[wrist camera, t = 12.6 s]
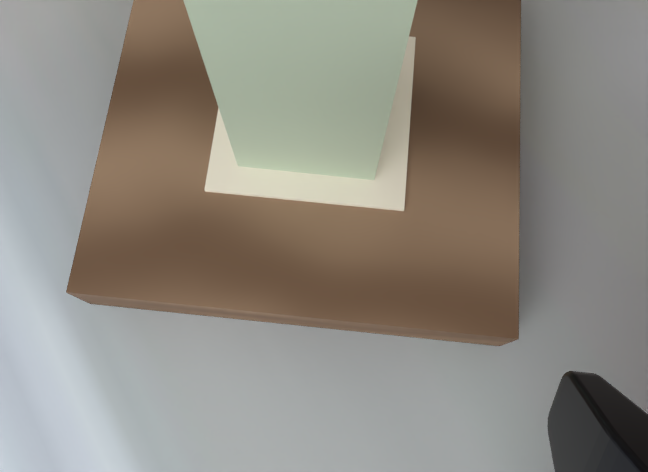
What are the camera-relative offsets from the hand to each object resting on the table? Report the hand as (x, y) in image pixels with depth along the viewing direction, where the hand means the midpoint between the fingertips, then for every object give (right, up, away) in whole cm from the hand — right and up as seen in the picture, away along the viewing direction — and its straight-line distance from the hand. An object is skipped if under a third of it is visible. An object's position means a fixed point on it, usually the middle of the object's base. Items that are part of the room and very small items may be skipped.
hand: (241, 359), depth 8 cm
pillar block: (+1, +6, +12) cm, 13 cm away
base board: (+1, +5, +14) cm, 15 cm away
